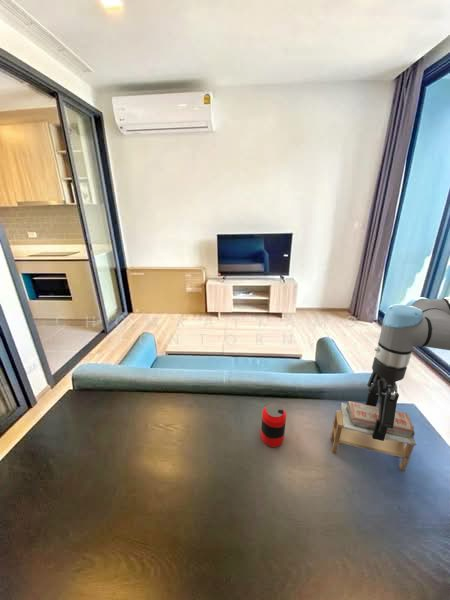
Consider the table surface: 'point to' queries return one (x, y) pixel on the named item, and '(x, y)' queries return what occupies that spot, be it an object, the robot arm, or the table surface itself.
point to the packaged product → (365, 420)
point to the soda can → (273, 425)
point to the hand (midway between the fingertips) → (373, 423)
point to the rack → (368, 442)
